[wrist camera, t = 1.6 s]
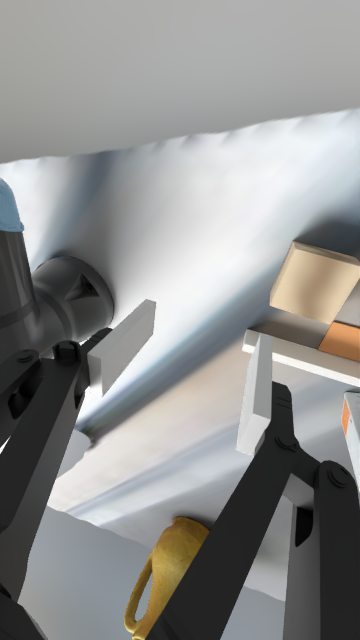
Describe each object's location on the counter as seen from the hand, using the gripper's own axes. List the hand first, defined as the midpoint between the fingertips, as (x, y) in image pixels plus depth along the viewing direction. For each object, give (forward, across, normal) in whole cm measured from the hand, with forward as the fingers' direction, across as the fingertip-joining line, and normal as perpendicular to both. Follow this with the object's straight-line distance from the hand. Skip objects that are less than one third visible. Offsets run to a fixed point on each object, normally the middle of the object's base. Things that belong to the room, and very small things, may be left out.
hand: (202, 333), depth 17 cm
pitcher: (+19, +7, -82) cm, 84 cm away
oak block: (+19, +9, 0) cm, 21 cm away
